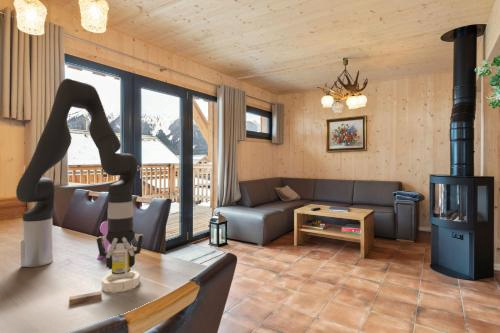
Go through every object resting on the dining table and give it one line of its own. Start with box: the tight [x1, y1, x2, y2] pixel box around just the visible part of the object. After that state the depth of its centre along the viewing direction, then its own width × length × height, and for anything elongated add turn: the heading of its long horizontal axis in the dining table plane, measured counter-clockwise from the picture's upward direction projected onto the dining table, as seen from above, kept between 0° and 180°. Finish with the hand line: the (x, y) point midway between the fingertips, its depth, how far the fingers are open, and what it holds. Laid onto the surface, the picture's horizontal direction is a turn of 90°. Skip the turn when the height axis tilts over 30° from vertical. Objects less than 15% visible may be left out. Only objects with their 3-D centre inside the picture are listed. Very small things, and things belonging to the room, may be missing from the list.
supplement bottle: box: [111, 243, 131, 276], centre depth 94 cm, size 6×6×10 cm
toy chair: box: [96, 220, 111, 260], centre depth 120 cm, size 8×9×15 cm
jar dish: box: [101, 269, 141, 294], centre depth 94 cm, size 11×11×3 cm
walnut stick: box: [68, 290, 103, 307], centre depth 83 cm, size 8×2×2 cm, turn 118°
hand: (121, 267), depth 94 cm, fingers closed on supplement bottle, 5 cm apart
